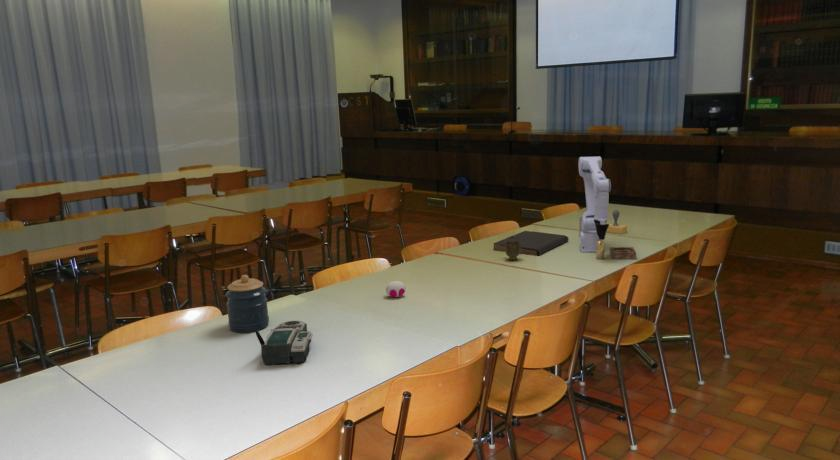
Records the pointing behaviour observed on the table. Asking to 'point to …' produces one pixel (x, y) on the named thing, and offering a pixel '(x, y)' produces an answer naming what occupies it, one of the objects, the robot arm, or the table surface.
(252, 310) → the canister
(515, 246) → the cup
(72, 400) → the table surface
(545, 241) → the file folder
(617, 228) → the rubber stamp
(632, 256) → the box
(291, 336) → the communication device
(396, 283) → the stress ball
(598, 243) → the peg
